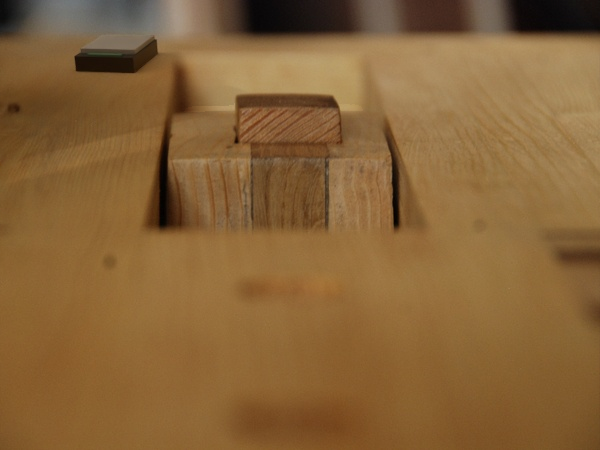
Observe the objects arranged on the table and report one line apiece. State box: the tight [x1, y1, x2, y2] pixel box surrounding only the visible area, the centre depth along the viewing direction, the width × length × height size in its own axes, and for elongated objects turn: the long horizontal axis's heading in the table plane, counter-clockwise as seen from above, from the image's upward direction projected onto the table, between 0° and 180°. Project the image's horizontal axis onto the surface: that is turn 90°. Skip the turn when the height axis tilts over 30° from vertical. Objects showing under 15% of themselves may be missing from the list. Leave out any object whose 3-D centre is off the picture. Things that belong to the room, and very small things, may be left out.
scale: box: [74, 33, 159, 74], centre depth 136 cm, size 10×14×3 cm
